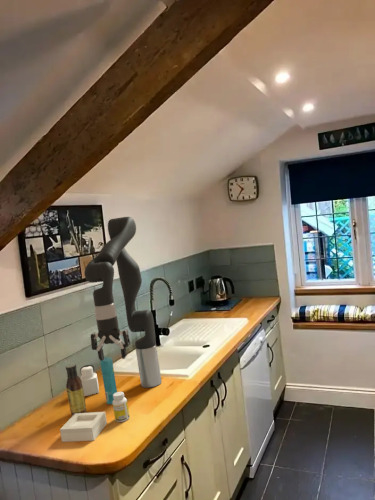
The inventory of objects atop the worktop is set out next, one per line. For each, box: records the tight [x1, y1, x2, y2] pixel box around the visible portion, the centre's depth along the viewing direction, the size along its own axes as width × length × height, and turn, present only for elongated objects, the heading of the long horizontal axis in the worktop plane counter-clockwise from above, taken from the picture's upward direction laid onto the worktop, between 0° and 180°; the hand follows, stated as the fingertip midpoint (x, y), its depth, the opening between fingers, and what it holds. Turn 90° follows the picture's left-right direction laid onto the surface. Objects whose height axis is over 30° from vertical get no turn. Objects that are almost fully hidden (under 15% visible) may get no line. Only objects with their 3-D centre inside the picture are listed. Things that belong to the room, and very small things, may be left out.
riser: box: [59, 411, 108, 443], centre depth 156 cm, size 12×12×4 cm
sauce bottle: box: [65, 363, 87, 416], centre depth 173 cm, size 7×6×20 cm
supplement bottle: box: [112, 391, 130, 423], centre depth 162 cm, size 5×5×10 cm
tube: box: [99, 356, 118, 405], centre depth 179 cm, size 7×5×19 cm, turn 60°
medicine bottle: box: [79, 364, 100, 397], centre depth 194 cm, size 7×7×12 cm
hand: (113, 359), depth 161 cm, fingers open, 8 cm apart
